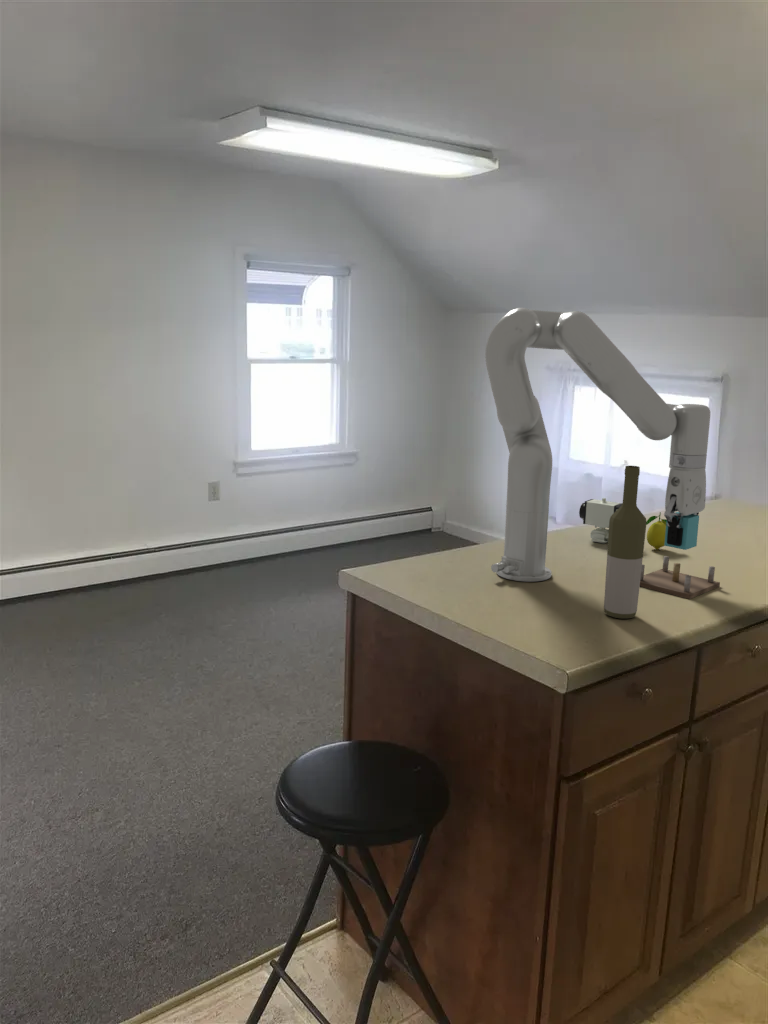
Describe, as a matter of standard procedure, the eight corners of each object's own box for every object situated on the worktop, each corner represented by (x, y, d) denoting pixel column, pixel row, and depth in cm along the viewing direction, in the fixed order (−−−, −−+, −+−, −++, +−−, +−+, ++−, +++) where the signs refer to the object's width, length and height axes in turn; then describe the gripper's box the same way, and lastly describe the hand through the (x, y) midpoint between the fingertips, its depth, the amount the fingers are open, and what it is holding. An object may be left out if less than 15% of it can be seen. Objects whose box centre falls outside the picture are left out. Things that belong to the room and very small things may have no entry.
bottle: (643, 614, 168) (657, 466, 162) (629, 623, 163) (643, 470, 156) (610, 607, 172) (622, 462, 166) (595, 615, 167) (607, 466, 161)
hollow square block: (685, 549, 183) (688, 518, 182) (664, 545, 187) (666, 514, 185) (696, 546, 186) (699, 515, 185) (675, 542, 190) (678, 511, 188)
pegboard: (689, 599, 179) (691, 576, 178) (630, 583, 189) (632, 562, 188) (719, 586, 188) (721, 565, 187) (662, 572, 198) (664, 552, 197)
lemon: (642, 550, 218) (645, 513, 216) (643, 545, 223) (647, 509, 221) (669, 553, 216) (673, 515, 213) (670, 548, 221) (673, 511, 219)
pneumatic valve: (618, 547, 221) (621, 502, 218) (576, 539, 228) (580, 496, 225) (626, 543, 225) (629, 499, 223) (585, 536, 232) (588, 493, 230)
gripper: (684, 467, 174) (677, 552, 178) (722, 459, 186) (714, 539, 189) (651, 463, 179) (645, 545, 183) (690, 456, 191) (683, 533, 195)
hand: (680, 541), depth 186 cm, fingers closed on hollow square block, 5 cm apart
